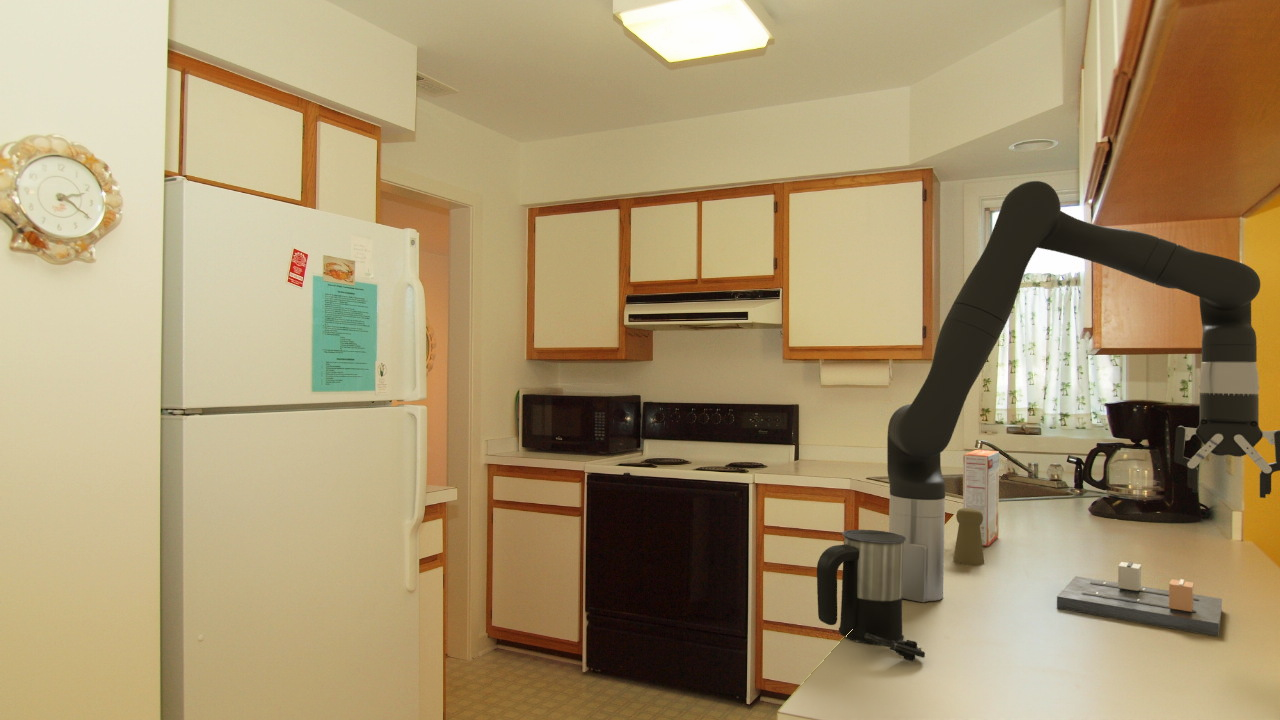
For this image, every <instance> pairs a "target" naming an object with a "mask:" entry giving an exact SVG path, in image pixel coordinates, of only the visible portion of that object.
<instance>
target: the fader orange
mask: <svg viewBox="0 0 1280 720" xmlns="http://www.w3.org/2000/svg"><path fill="white" fill-rule="evenodd" d="M1170 579H1171V578H1170ZM1168 590H1169V608H1172V609H1178V610H1184V611H1190V612H1192V609H1193V594H1194V590H1195V589H1194V582H1192V581H1186V580H1185V579H1182V578H1180V579H1179V580H1178V579H1171V580H1170V581H1169V589H1168Z"/></svg>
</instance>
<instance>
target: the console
mask: <svg viewBox="0 0 1280 720" xmlns="http://www.w3.org/2000/svg"><path fill="white" fill-rule="evenodd" d="M1222 605H1223V599H1222V598H1220V597H1212V596H1207V595H1201V594H1200V595H1199V594H1195V593H1193V609H1192V612H1190V611H1184V610H1178V609H1172V608H1169V589H1168V590H1166V589H1162V588H1161V589H1160V588H1155V587H1154V588H1153V587H1148V586H1142V585H1141V587H1140V589H1139V591H1136V590H1129V589H1123V588H1118V582H1115V581H1110V580H1102V579H1096V578H1089V577H1083V576H1077V575H1076V576H1074V577H1073V578H1072V580H1071V581H1070V582H1069V583H1067V585H1066V586H1065V587H1064V588H1063V589H1062V590H1061V591H1060V593H1058V595H1057V596H1056V609H1059V610H1065V611H1071V612H1076V613H1082V614H1087V615H1094V616H1099V617H1103V618H1110V619H1116V620H1121V621H1127V622H1134V623H1137V624H1138V623H1139V624H1144V625H1149V626H1155V627H1161V628H1165V629H1166V628H1167V629H1173V630H1178V631H1183V632H1189V633H1195V634H1201V635H1206V636H1212V637H1218V638H1219V636H1220V628H1221V619H1222V612H1223V607H1222Z"/></svg>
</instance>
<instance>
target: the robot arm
mask: <svg viewBox="0 0 1280 720" xmlns="http://www.w3.org/2000/svg"><path fill="white" fill-rule="evenodd" d="M1003 199H1004V200H1003V201H1002V204H1001V206H1000V210H999V212H998V215H997V219H996V221H995V224H994V226H993V229H992V231H991V234H990V236H989V239H988V242H987V244H986V245H985V248H984V249H983V252H982V254H981V255H980V257H979V259H978V260H977V262H976V264H975V265H974V267H973V268H972V270H971V272H970V274H969V275H968V276H967V278H966V280H965V282H964V283H963V286H962V287H961V289H960V290H959V292H958V294H957V295H956V298H955V300H954V301H953V304H952V305H951V307H950V309H949V311H948V313H947V315H946V317H945V319H944V321H943V323H942V326H941V328H940V331H939V334H938V337H937V340H936V343H935V344H936V345H935V348H934V354H933V358H932V363H931V366H930V369H929V372H928V375H927V377H926V379H925V381H924V383H923V384H922V386H921V388H920V389H919V391H918V393H917V394H916V396H915V398H914V399H913V400H912V402H911V403H909V404H905V405H903V406H901V407H899V408H898V409H896V410H895V411H894V412H893V414H892V415H891V417H890V419H889V422H888V426H887V437H886V439H887V443H886V444H887V447H886V448H887V450H886V455H887V458H886V461H887V467H886V468H887V470H886V471H887V477H888V482H889V483H888V484H889V508H888V509H889V510H888V532H891V533H895V534H898V535H902V536H904V537H906V541H904V556H903V590H902V600H910V601H914V602H918V603H919V602H920V603H926V602H933V601H939V600H941V599H943V598H944V575H945V573H944V572H945V571H944V568H945V567H944V566H945V565H944V564H945V561H944V560H945V522H946V521H945V515H946V483H945V480H944V476H943V473H942V467H941V453H942V452H944V450H945V449H946V448H947V447H948V445H949V444H950V441H951V439H952V438H953V434H954V433H955V432H954V431H955V429H956V426H957V423H958V421H959V418H960V416H961V413H962V411H963V408H964V405H965V402H966V400H967V397H968V395H969V393H970V390H971V389H972V387H973V385H974V384H975V382H976V380H977V379H978V377H979V375H980V374H981V372H982V369H983V368H984V367H985V365H986V363H987V361H988V359H989V357H990V355H991V353H992V351H993V350H994V348H995V346H996V344H997V342H998V341H999V338H1000V337H1001V334H1002V332H1003V331H1004V329H1005V327H1006V326H1005V325H1007V323H1008V319H1009V318H1010V316H1011V313H1012V311H1013V307H1014V306H1015V303H1016V300H1017V296H1018V294H1019V291H1020V288H1021V284H1022V282H1023V281H1022V280H1023V278H1024V276H1025V275H1024V274H1025V272H1026V269H1027V267H1028V265H1029V263H1030V261H1031V259H1032V257H1033V255H1034V254H1035V252H1036V250H1037V249H1042V250H1047V251H1048V250H1049V251H1052V252H1057V253H1060V254H1063V255H1064V254H1065V255H1069V256H1072V257H1074V258H1075V257H1077V258H1080V259H1083V260H1086V261H1089V262H1092V263H1097V264H1098V265H1101V266H1105V267H1108V268H1111V269H1113V270H1116V271H1119V272H1121V273H1124V274H1127V275H1129V276H1132V277H1135V278H1138V279H1140V280H1143V281H1144V282H1148V283H1151V284H1153V285H1156V286H1159V287H1162V288H1166V289H1172V290H1173V289H1174V290H1175V289H1176V290H1180V291H1183V292H1186V293H1188V294H1190V295H1194V296H1196V297H1199V298H1198V301H1199V312H1200V319H1201V325H1202V336H1201V368H1200V374H1199V385H1198V388H1199V425H1198V426H1197V427H1196V428H1195V427H1184V426H1183V425H1179V426H1177V427H1176V429H1175V440H1174V450H1173V451H1174V452H1173V453H1174V454H1173V462H1175V463H1176V464H1178V465H1181V466H1184V467H1185V468H1186V469H1187V471H1186V473H1187V474H1186V475H1187V477H1186V478H1187V479H1186V481H1187V487H1188V489H1192V493H1199V467H1198V465H1199V464H1200V463H1202V461H1204V459H1205V458H1206V457H1207V456H1208V455H1210V453H1211V454H1213V455H1215V456H1232V457H1237V458H1240V457H1243V456H1246V455H1247V456H1248V457H1249V458H1250V459H1251V460H1252V461H1253V462H1254V463H1255V464H1256V466H1258V468H1259V469H1260V472H1259V498H1260V499H1266V495H1268V496H1269V495H1271V493H1272V476H1273V475H1272V474H1273V473H1275V472H1279V471H1280V429H1276V430H1261V428H1260V425H1259V422H1260V421H1259V419H1260V418H1259V415H1260V413H1259V411H1260V410H1259V407H1260V406H1259V405H1260V403H1259V402H1260V401H1259V400H1260V399H1259V394H1260V393H1259V392H1260V384H1259V378H1260V377H1259V373H1258V367H1257V366H1258V365H1257V361H1258V360H1257V349H1258V348H1257V347H1258V346H1257V344H1258V343H1257V334H1256V331H1255V328H1254V327H1253V325H1252V301H1253V300H1254V299H1255V298H1256V297H1257V296H1258V294H1259V292H1260V289H1261V279H1260V276H1259V275H1258V273H1257V272H1256V270H1254V269H1253V268H1252V267H1250V266H1249V265H1248V264H1245V263H1242V262H1240V261H1237V260H1233V259H1230V258H1227V257H1223V256H1220V255H1216V254H1212V253H1207V252H1202V251H1197V250H1193V249H1190V248H1187V247H1185V246H1183V245H1181V244H1177V243H1176V242H1173V241H1170V240H1166V239H1163V238H1160V237H1158V236H1155V235H1151V234H1148V233H1146V232H1140V231H1135V230H1131V229H1130V230H1129V229H1123V228H1118V227H1117V228H1116V227H1110V226H1103V225H1098V224H1095V223H1091V222H1087V221H1083V220H1081V219H1078V218H1076V217H1074V216H1071V215H1070V214H1067V213H1065V212H1063V211H1062V210H1061V201H1060V197H1059V195H1058V193H1057V192H1056V190H1055V188H1053V186H1052V185H1050V184H1048V183H1047V182H1044V181H1040V180H1030V181H1025V182H1022V183H1021V184H1018V185H1017V186H1014V188H1013V189H1011V190H1010V191H1009V193H1007V195H1006V196H1005V197H1004V198H1003ZM1194 435H1196V436H1197V438H1198V439H1199V440H1200V441H1201V443H1202V444H1203V446H1202V447H1201V448H1199V450H1198V451H1197V452H1196V453H1195V454H1194V455H1193V456H1192V457H1190V458H1188V457H1186V456H1185V444H1186V441H1190V440H1191V438H1192V436H1194ZM1263 438H1265V439H1266V440H1267V442H1268V443H1269V445H1273V446H1274V456H1275V462H1270V463H1268V462H1267V461H1266V459H1264V458H1263V456H1262V455H1261V454H1260V452H1258V451H1257V449H1256V448H1254V447H1255V446H1256V445H1257V444H1258V443H1259V442H1260V441H1261V440H1262V439H1263Z"/></svg>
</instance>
